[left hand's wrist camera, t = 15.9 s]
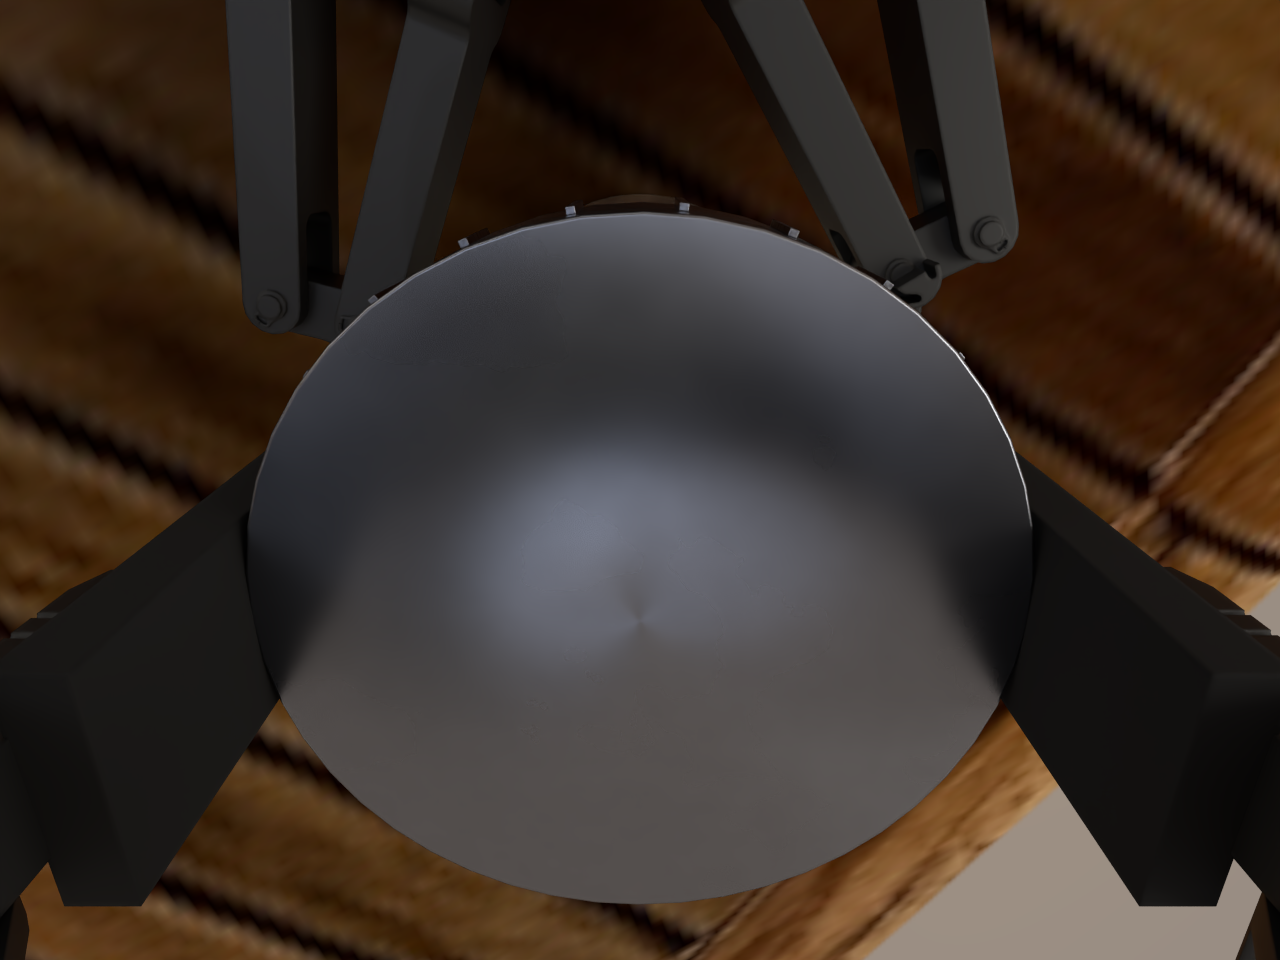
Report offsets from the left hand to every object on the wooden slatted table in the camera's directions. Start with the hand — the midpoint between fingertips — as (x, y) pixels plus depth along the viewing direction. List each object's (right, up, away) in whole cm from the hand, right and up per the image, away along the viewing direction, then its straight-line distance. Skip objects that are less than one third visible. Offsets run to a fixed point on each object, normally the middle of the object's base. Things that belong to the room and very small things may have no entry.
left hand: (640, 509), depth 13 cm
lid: (0, -1, -3) cm, 3 cm away
